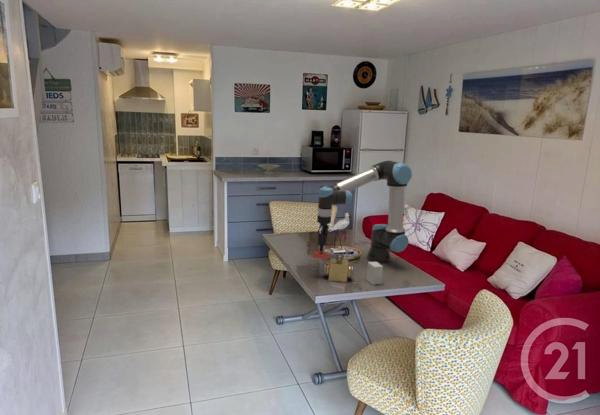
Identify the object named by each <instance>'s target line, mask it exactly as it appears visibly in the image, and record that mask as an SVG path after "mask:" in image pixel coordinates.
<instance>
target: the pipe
mask: <svg viewBox="0 0 600 415" xmlns="http://www.w3.org/2000/svg"><path fill="white" fill-rule="evenodd" d="M327 263H328V262H324V266H323V277H327V276H326V266H327ZM353 276H354V265H353V264H351V276H350V278H349V280H353V279H354V278H353Z"/></svg>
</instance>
